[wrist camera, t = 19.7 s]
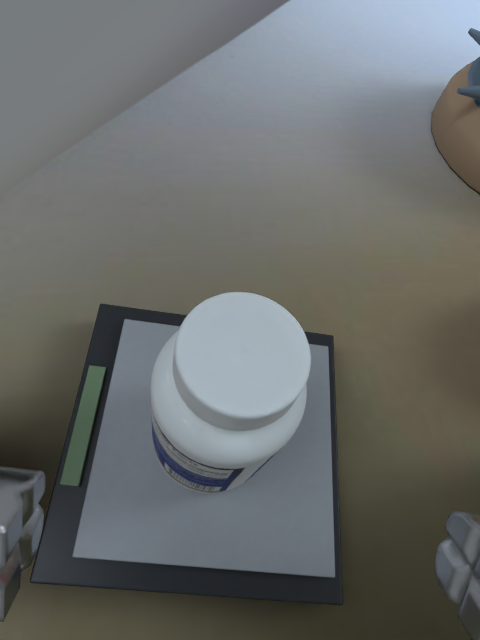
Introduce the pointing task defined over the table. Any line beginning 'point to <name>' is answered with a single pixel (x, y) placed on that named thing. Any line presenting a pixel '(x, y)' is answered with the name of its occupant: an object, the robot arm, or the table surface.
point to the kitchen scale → (181, 503)
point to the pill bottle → (228, 391)
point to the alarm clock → (461, 121)
